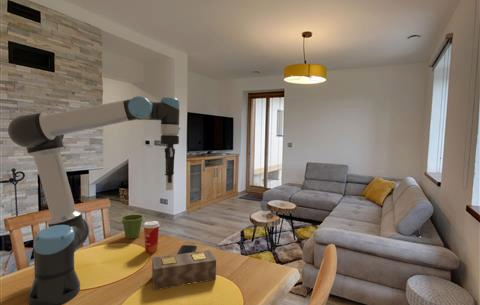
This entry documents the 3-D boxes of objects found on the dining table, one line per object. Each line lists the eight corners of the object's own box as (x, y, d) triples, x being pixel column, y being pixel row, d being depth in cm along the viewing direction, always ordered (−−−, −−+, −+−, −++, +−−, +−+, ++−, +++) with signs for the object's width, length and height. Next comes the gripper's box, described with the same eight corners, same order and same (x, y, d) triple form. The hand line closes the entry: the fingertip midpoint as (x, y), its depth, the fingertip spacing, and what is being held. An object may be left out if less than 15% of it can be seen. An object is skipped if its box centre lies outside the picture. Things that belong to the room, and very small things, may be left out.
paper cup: (142, 248, 136) (142, 221, 136) (158, 246, 140) (158, 219, 139) (143, 255, 129) (144, 226, 129) (160, 252, 133) (160, 224, 132)
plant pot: (147, 234, 156) (147, 215, 155) (134, 242, 144) (134, 221, 144) (130, 231, 159) (130, 213, 158) (116, 239, 148) (116, 219, 147)
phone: (197, 245, 140) (191, 258, 125) (196, 247, 140) (191, 261, 125) (181, 245, 140) (174, 258, 125) (181, 247, 140) (174, 260, 126)
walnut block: (153, 289, 101) (153, 269, 100) (152, 276, 110) (152, 257, 110) (215, 279, 109) (216, 260, 109) (209, 267, 119) (209, 250, 118)
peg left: (162, 281, 104) (163, 264, 104) (161, 275, 109) (161, 258, 108) (176, 279, 106) (176, 262, 106) (174, 273, 111) (174, 256, 110)
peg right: (193, 276, 109) (194, 259, 108) (191, 270, 113) (191, 254, 113) (205, 274, 110) (206, 258, 110) (203, 269, 115) (203, 253, 115)
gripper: (181, 135, 110) (180, 192, 111) (176, 135, 122) (176, 186, 123) (162, 134, 107) (161, 193, 108) (159, 134, 119) (158, 187, 121)
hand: (169, 189), depth 116 cm, fingers closed
